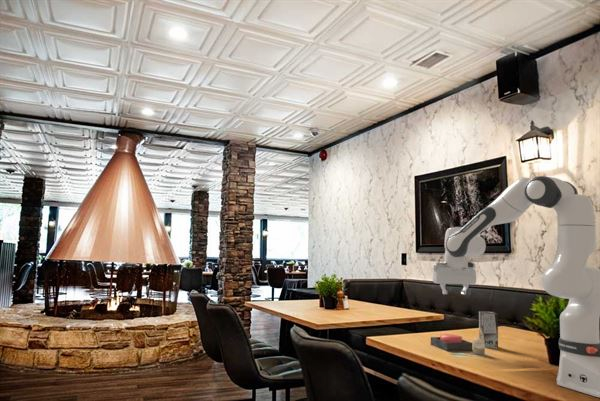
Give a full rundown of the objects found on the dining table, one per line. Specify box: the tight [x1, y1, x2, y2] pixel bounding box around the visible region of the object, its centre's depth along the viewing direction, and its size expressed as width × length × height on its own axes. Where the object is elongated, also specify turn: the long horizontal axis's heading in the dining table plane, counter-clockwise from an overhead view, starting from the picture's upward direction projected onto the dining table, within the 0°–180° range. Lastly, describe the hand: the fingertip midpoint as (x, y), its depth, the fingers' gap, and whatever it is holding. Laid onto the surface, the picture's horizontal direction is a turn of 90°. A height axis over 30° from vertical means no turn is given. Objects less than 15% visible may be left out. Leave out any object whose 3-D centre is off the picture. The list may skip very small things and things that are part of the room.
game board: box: [430, 336, 490, 358], centre depth 177 cm, size 24×16×4 cm, turn 15°
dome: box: [439, 333, 463, 343], centre depth 183 cm, size 9×9×4 cm
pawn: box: [472, 338, 486, 357], centre depth 172 cm, size 4×4×6 cm
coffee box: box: [478, 310, 499, 350], centre depth 191 cm, size 9×6×16 cm
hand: (454, 294), depth 185 cm, fingers open, 8 cm apart
